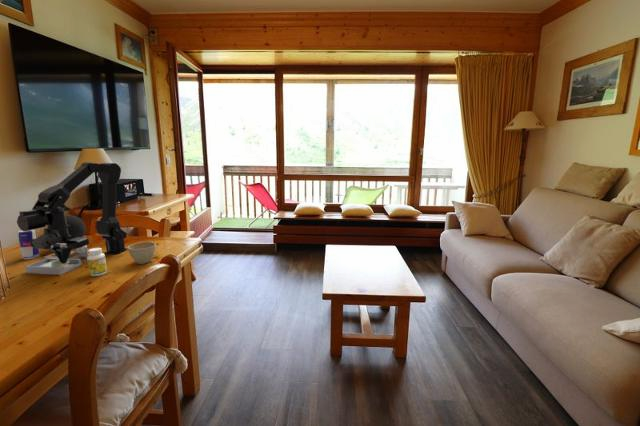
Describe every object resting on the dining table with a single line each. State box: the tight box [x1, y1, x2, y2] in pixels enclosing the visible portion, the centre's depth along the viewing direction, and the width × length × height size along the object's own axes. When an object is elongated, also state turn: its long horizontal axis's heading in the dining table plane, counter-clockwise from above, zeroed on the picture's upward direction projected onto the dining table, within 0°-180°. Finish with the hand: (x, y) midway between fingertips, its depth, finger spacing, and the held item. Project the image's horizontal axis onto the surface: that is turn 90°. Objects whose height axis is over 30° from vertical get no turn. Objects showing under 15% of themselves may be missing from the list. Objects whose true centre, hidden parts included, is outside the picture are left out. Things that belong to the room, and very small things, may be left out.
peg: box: [76, 245, 89, 260], centre depth 130 cm, size 4×4×6 cm
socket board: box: [42, 250, 78, 260], centre depth 128 cm, size 8×8×2 cm
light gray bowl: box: [127, 241, 157, 265], centre depth 126 cm, size 10×10×7 cm
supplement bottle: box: [86, 247, 108, 277], centre depth 114 cm, size 5×5×10 cm
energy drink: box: [16, 229, 40, 260], centre depth 129 cm, size 5×5×12 cm
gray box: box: [24, 258, 82, 276], centre depth 119 cm, size 14×9×3 cm, turn 85°
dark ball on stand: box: [65, 214, 87, 240], centre depth 143 cm, size 13×13×15 cm
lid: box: [42, 259, 71, 267], centre depth 118 cm, size 7×7×3 cm
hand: (64, 263), depth 118 cm, fingers closed
